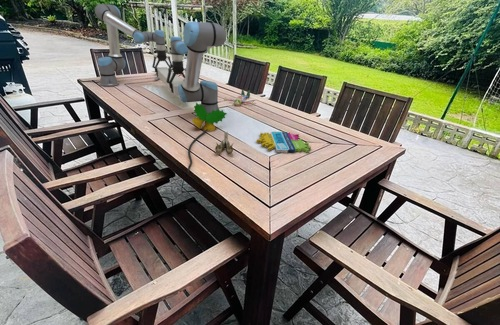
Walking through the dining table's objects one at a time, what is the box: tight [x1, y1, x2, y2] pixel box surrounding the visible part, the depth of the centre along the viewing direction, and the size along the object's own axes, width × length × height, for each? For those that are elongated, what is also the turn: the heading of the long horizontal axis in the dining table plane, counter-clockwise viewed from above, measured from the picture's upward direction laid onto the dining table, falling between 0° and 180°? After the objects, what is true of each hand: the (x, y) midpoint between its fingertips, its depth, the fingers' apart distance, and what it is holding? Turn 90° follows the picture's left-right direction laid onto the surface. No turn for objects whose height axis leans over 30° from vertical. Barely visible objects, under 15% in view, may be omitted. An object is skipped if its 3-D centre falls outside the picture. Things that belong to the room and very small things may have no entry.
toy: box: [223, 89, 257, 106], centre depth 219 cm, size 28×7×30 cm
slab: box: [155, 66, 184, 97], centre depth 217 cm, size 72×10×7 cm, turn 27°
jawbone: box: [214, 131, 234, 156], centre depth 136 cm, size 9×15×10 cm
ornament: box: [191, 102, 228, 132], centre depth 162 cm, size 21×8×15 cm, turn 105°
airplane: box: [151, 64, 174, 81], centre depth 281 cm, size 38×31×10 cm
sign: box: [256, 131, 312, 154], centre depth 152 cm, size 26×2×30 cm
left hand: (163, 75), depth 240 cm, fingers closed on slab, 10 cm apart
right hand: (179, 91), depth 196 cm, fingers closed on slab, 10 cm apart
